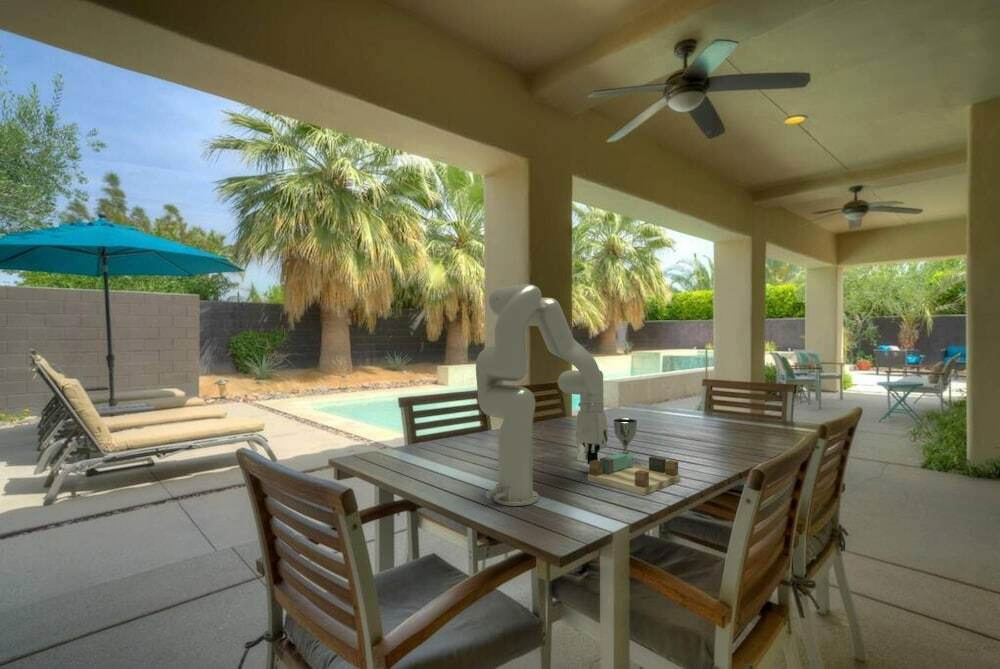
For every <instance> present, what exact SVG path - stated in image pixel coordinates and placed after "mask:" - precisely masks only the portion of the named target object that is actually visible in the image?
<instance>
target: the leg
mask: <svg viewBox="0 0 1000 669" xmlns="http://www.w3.org/2000/svg"><path fill="white" fill-rule="evenodd" d="M633 458H634V456H633V453H632V452H630V451H628V450H627V451H624V450H622V451H620V452H618V453H616V454H611V455H608V456H604V457H603V456H602V457H600V458H599V461H602V472H605V473H612V472H615V471H618V470H621V469H624V468H627V467H632V466H633V462H634V461H633V460H634V459H633Z"/></svg>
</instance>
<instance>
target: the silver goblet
mask: <svg viewBox="0 0 1000 669" xmlns="http://www.w3.org/2000/svg"><path fill="white" fill-rule="evenodd" d="M637 425H638V423H637V420H636V419H633V418H616V419H615V418H614V419H613V431H614V434H615V437H616V438H617V440H618V441H619V442H620V443H621V446H622V447H623V451H628V447H629V445H630V444H631V442H632V441H633V440H634V439H635V437H636V434H637V429H638V426H637ZM633 464H634V465H637V462H635V461H633Z"/></svg>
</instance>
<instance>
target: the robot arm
mask: <svg viewBox="0 0 1000 669" xmlns="http://www.w3.org/2000/svg"><path fill="white" fill-rule="evenodd" d="M488 299H489V300H488V304H489V307H490V309H491V311H492V312H493V314H495V315H496V316H498V318H497V321H496V323H495V327H494V346H489V347H485V348H483V350H480V352H479V354H478V355H477V359H476V360H475V361H476V363H475V377H476V389H477V399H478V405H479V408H480V410H481V411H482V412H483V413H484V414H485V415H486V416H489V417H493V418H500V419H503V420H502V423H501V425H500V428H499V431H498V433H497V449H498V450H497V451H498V452H497V454H498V456H497V460H498V483H496V484H495V487H494V489H492V490H491V489H490V490H487V491H486V492H485V497H486V499H488V500H489V499H491V498H493V501H494V502H495V503H497V504H499V505H503V506H509V507H522V506H523V507H524V506H528V505H532V504H535V503H536V502H537V501H539V493H538V492H537V491H535V490H534V489H533V486H534V485H533V482H534V481H533V473H534V472H533V425H534V424H533V423H534V415H535V410H536V399H535V396H534V395H535V394H533V393H532V391H531V390H530V389H528V388H526V387H524V386H520V385H514V384H504V381H505V382H517V381H521V380H523V379H524V378H525V376H526V375H527V372H528V356H527V355H528V354H527V343H526V342H527V341H526V329H527V327H534V326H535V327H538V330H539V332H540V334H541V337H542V338H543V341H544V343H545V346H546V348H547V350H548V352H550V353H551V355H552V354H553V355H554V356H557V357H558V358H559V359H562V360H564V361H566V362H568V363H570V364H571V365H572V366H573V367H574V368H576V369H577V370H573V369H571V370H565V371H563V372H562V373H560V375H559V377H558V378H557V386H558V388H559V390H560V391H562V392H563V393H565V394H568V395H569V394H570V395H577V396H578V395H579V402H578V404H577V405H578V407H579V408H580V410H578V411H577V415H576V418H577V421H576V420H575V426H576V431H575V439H576V441H577V440H578V442H579V443H580V444H582V445H583V446H584V447H585V450H586V452H587V460H588V461H587V465H589V461H593V460H598V461H599V458H598V457H599V455H598V454H599V453H598V452H600V450H601V449H607V448H608V444H607V443H608V440H609V430H608V429H609V428H608V421H607V416H606V412H605V410H604V408H605V407H604V406H605V405H604V403H605V402H604V400H605V398H604V373H603V371H602V370H601V369H600V368H599V366H598V363H597V361H596V360H595V357H594V356H593V355H592V354H591V353H590V352H589V351H588V350H587V349H586V348H584V347H583V345H581V344H580V343H579V342H578V341H576V339H575V338H574V337H573V334H572V331H571V329H570V327H569V324H568V321H567V319H566V316H565V314H564V311H563V308H562V307H561V304H560V303H559V301H558V300H557V299H555V298H552V297H542V291H541V290H540V288H539V287H538V286H536V285H534V284H528V283H527V284H516V285H506V286H500V287H497V288H495V289H493V290H492V291H491V293H490V295H489V298H488Z"/></svg>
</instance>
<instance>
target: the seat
mask: <svg viewBox="0 0 1000 669" xmlns="http://www.w3.org/2000/svg"><path fill="white" fill-rule="evenodd" d="M588 465H589V468H588V469H589V473H588V474H587V481H588V482H591V483H595V484H599V485H603V486H607V487H611V488H613V489H618V490H621V491H624V492H625V491H626V492H629V493H632V494H637V495H639V496H643V495H644V496H646V495H649V494H651V492H652V493H655V492H657V491H660V490H661V488H662V489H664V488H666V486H667V487H669V486H671V485H670V484H672V485H674V484H676V483H675V482H677V483H678V481H679V482H681V474H679V461H678V460H677V461H676V460H672V459H669V460H667V459H666V458H660V457H655V456H650V457H648V467H647V466H644V465H643V466H642V465H640V464H639V465H638V464H635V465H634V464H633V466H632V467H627V468H624V469H621V470H618V471H615V472H612V473H605V472H602V461H600V460H599V459H598V460H593V461H589V464H588ZM673 483H674V484H673ZM668 485H669V486H668ZM663 487H664V488H663ZM656 490H657V491H656Z"/></svg>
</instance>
